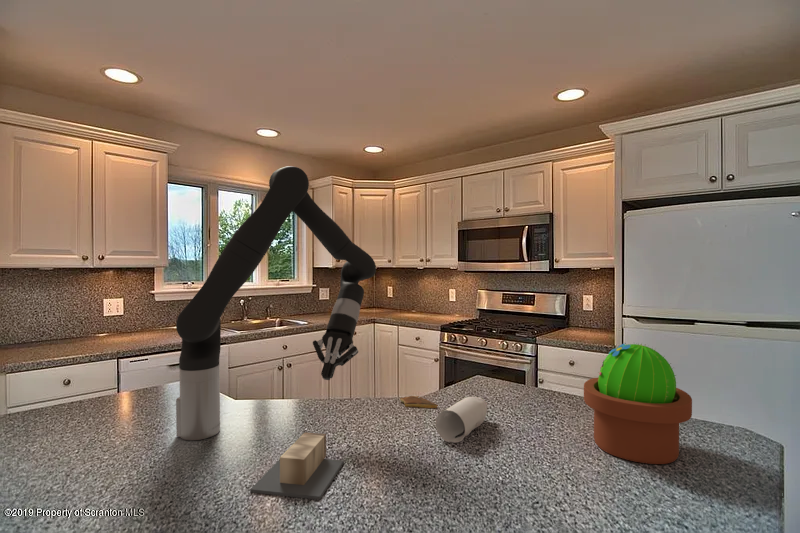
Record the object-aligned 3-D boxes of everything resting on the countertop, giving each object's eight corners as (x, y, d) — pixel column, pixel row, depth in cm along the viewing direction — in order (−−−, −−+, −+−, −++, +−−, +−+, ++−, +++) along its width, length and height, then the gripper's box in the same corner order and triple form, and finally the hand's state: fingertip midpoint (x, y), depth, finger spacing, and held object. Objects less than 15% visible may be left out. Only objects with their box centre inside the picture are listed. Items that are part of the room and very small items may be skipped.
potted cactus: (684, 438, 103) (685, 337, 102) (698, 480, 83) (700, 356, 83) (587, 422, 113) (587, 330, 112) (579, 456, 94) (580, 345, 93)
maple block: (304, 454, 94) (280, 482, 82) (304, 432, 94) (279, 457, 82) (326, 456, 93) (303, 485, 81) (325, 433, 93) (303, 459, 81)
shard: (438, 409, 124) (438, 403, 124) (417, 415, 120) (417, 409, 120) (417, 399, 133) (417, 394, 133) (397, 404, 129) (397, 398, 129)
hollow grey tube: (495, 422, 114) (495, 393, 114) (464, 447, 98) (464, 414, 98) (469, 415, 118) (469, 388, 118) (434, 439, 103) (435, 407, 103)
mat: (250, 492, 80) (250, 489, 80) (283, 457, 93) (283, 455, 93) (319, 499, 77) (319, 496, 77) (343, 463, 91) (343, 460, 91)
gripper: (318, 309, 114) (297, 370, 105) (364, 315, 111) (346, 378, 102) (325, 321, 120) (306, 379, 111) (369, 327, 117) (353, 387, 108)
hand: (325, 378), depth 107 cm, fingers closed
